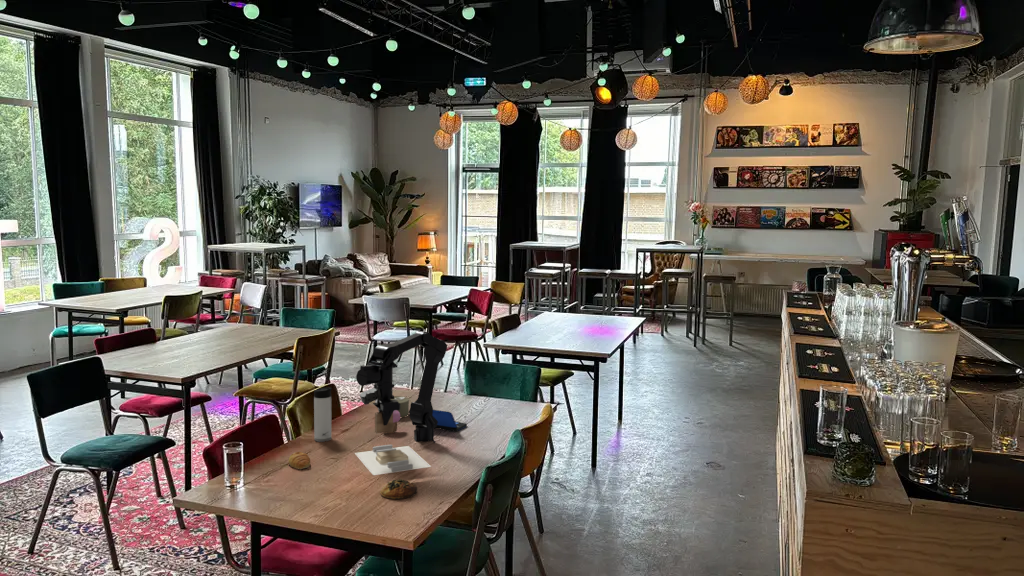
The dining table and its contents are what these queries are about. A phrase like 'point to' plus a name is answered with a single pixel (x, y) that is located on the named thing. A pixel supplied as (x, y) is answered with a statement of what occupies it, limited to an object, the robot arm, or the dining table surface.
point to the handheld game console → (447, 421)
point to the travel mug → (322, 414)
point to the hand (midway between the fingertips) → (384, 424)
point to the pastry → (299, 460)
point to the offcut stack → (391, 456)
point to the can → (402, 405)
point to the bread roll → (398, 489)
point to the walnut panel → (380, 426)
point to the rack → (390, 467)
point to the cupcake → (394, 421)
